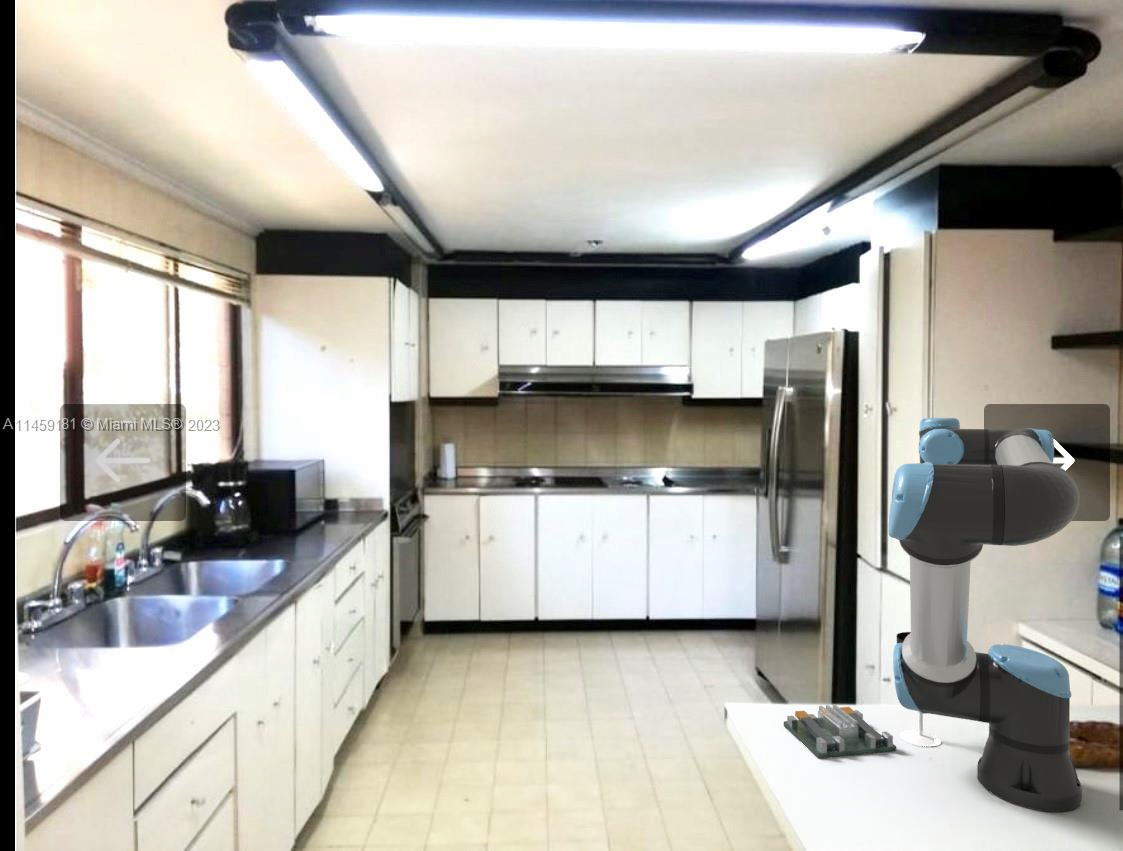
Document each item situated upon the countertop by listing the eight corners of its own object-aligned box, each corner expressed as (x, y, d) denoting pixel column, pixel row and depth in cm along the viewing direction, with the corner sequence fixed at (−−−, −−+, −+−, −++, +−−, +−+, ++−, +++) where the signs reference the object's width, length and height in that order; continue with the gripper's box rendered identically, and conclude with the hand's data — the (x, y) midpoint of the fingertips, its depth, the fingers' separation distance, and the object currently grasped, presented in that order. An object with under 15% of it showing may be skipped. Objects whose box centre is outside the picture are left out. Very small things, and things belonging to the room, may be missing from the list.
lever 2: (883, 743, 138) (883, 738, 138) (873, 744, 138) (874, 739, 138) (848, 711, 150) (849, 706, 150) (840, 712, 149) (840, 707, 149)
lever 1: (835, 747, 136) (835, 743, 136) (825, 748, 136) (825, 743, 136) (804, 715, 148) (804, 710, 148) (795, 715, 148) (795, 711, 148)
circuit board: (896, 751, 137) (896, 725, 137) (818, 758, 135) (818, 732, 135) (854, 719, 151) (855, 696, 151) (783, 726, 149) (783, 702, 149)
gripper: (903, 488, 157) (903, 595, 157) (944, 495, 144) (944, 612, 144) (934, 487, 158) (934, 593, 158) (978, 494, 145) (977, 610, 146)
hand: (939, 602), depth 151 cm, fingers closed
